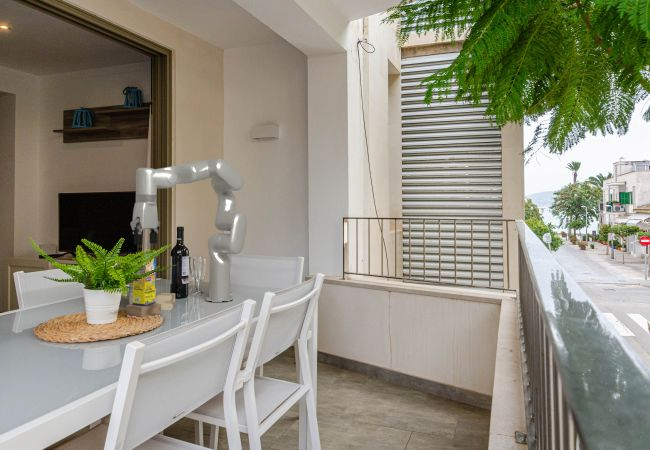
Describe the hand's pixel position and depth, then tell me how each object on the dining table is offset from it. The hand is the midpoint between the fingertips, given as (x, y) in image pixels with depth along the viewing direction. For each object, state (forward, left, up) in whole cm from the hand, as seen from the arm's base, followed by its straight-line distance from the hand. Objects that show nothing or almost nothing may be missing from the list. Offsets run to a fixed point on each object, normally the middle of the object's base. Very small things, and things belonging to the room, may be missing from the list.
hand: (145, 243), depth 171 cm
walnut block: (+1, 0, -29) cm, 29 cm away
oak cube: (-16, -1, -28) cm, 32 cm away
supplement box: (0, 0, -24) cm, 24 cm away
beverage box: (-16, -12, -29) cm, 35 cm away
